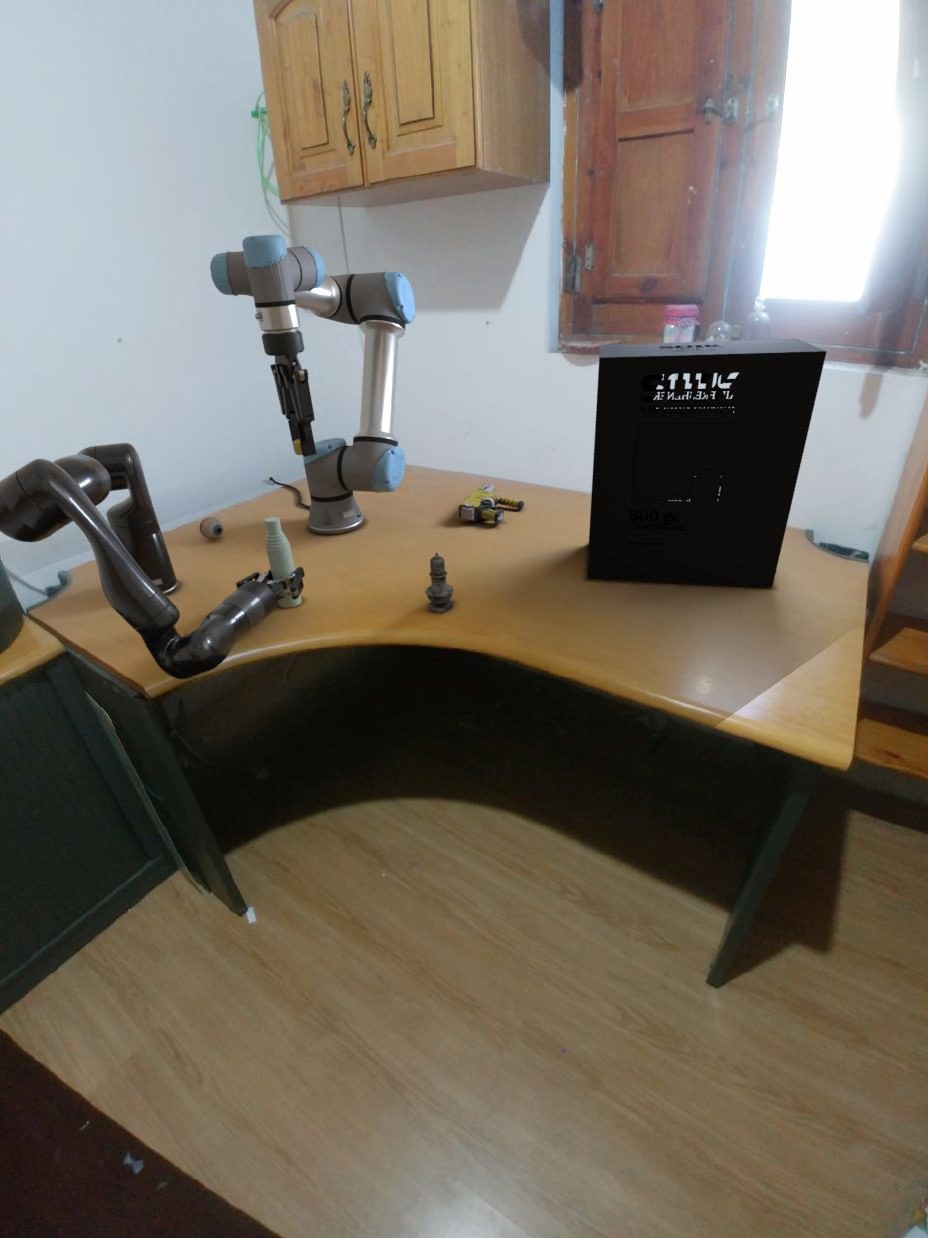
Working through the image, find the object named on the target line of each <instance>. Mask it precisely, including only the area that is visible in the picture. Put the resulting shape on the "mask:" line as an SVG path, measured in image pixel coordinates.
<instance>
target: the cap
mask: <svg viewBox="0 0 928 1238" xmlns="http://www.w3.org/2000/svg"><path fill="white" fill-rule="evenodd" d="M293 446H294V448H293V451H295V452H294V454H295V455H296V456H303V453H302V448H301V444H300V439H298V440H295V441H293V443H292V447H293Z"/></svg>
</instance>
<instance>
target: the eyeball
mask: <svg viewBox="0 0 928 1238" xmlns="http://www.w3.org/2000/svg"><path fill="white" fill-rule="evenodd" d="M198 529H199V533H200V534H201V535H202V537H203V538H205V539H206V540H210V541H211V540H212V541H213V540H217V539H219V538H221V537H222V535H223V533H224V525H223V522H222V521H221V520H219V519H218V518H216V517H210V516H209V517H206V518H204V519H203V520H201V522H200V523H199V528H198Z"/></svg>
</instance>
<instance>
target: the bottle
mask: <svg viewBox="0 0 928 1238" xmlns="http://www.w3.org/2000/svg"><path fill="white" fill-rule="evenodd" d="M264 523H265V524H264V525H265V527H266V532H267V534H266V537H265V538H266V539H265V550H266V554H267V559H268V564H269V568H270V569H271V572H272V576H273V580H275V579H277V578H279V577H281V576H284V577H286V576H288V575H290V574H291V573H292V572H293V571H294V570H296V568H295V563H294V558H293V554H292V549H291V544H290V541H289V540H288V538H287V536H286V534H285V533H284V531H283V530H282V526H281V519H280V517H278V516H269V517H267V518H265V519H264ZM281 583H282V582H281ZM289 584H291V580H289ZM301 596H302V595H301V594H300V595H299V597H298V599H292V596H285V597H284V598H283V599H281V600H279V601H277V603H278V605H279V607H281V608H285V609H288V608H294V607H296V606H297V607H298V606H299V605H300V604H301V603H302V597H301Z"/></svg>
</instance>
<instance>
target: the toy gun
mask: <svg viewBox="0 0 928 1238" xmlns="http://www.w3.org/2000/svg"><path fill="white" fill-rule="evenodd" d="M495 489H496V486H495V484H493V483H490V485H489V483H488V482H486V483H485V484H483V485H482V486H481V487H480V488H478V489H476V490H475V491H474V492H473V493H472V494H470V495H469V496H468V497H467V498H466V499H465V500H464V501H463V502H462V503H461V504H460V505H458V513H457V517H458V518H459V519H460V520H463V522H469V523H470V521H471V522H478V521H481V520H482V521H483V520H488V521H492V522H494V525H500V524H501V523H502V522H503V521H504V516H505V510H504V509H502V508H501V509H499V510H498V509H497V507H496V506H498V505H500V506H505V507H509V508H513V509H514V508H515V509H517V510H519V511H520V510H523V509H524V508H525V502H524V501H523V500H517V499H513V498H509V497H505V496H500V498H498V496H497V495H496V493H495Z"/></svg>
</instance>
